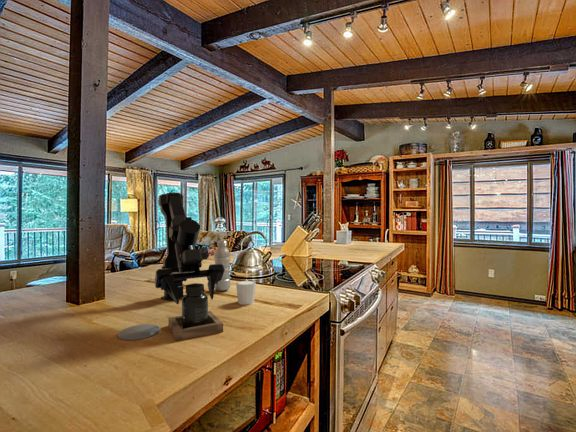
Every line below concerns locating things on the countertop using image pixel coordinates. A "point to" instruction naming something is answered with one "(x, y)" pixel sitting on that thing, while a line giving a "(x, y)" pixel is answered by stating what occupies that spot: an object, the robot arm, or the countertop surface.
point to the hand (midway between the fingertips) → (195, 301)
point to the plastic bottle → (223, 258)
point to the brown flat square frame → (195, 331)
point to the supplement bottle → (194, 306)
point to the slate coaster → (139, 332)
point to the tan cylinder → (245, 292)
